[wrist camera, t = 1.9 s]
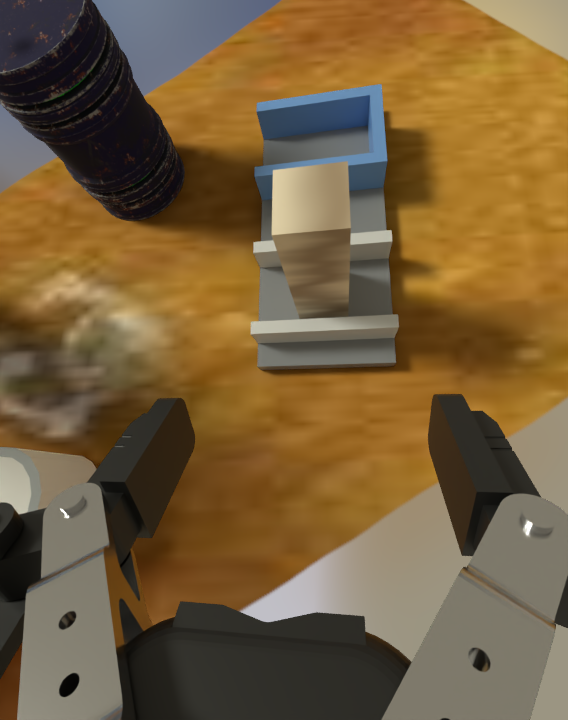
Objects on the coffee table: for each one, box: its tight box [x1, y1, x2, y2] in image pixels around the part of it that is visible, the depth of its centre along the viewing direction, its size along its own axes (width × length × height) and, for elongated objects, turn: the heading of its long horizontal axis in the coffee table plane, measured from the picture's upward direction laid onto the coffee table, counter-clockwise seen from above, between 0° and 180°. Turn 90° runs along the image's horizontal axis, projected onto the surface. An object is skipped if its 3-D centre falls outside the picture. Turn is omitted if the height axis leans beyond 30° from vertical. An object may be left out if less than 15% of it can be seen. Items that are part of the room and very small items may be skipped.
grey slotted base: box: [251, 84, 399, 370], centre depth 31 cm, size 11×26×4 cm, turn 179°
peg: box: [272, 161, 351, 319], centre depth 24 cm, size 4×4×12 cm
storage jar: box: [0, 0, 185, 221], centre depth 29 cm, size 10×10×18 cm
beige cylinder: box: [0, 447, 96, 514], centre depth 27 cm, size 7×7×7 cm
